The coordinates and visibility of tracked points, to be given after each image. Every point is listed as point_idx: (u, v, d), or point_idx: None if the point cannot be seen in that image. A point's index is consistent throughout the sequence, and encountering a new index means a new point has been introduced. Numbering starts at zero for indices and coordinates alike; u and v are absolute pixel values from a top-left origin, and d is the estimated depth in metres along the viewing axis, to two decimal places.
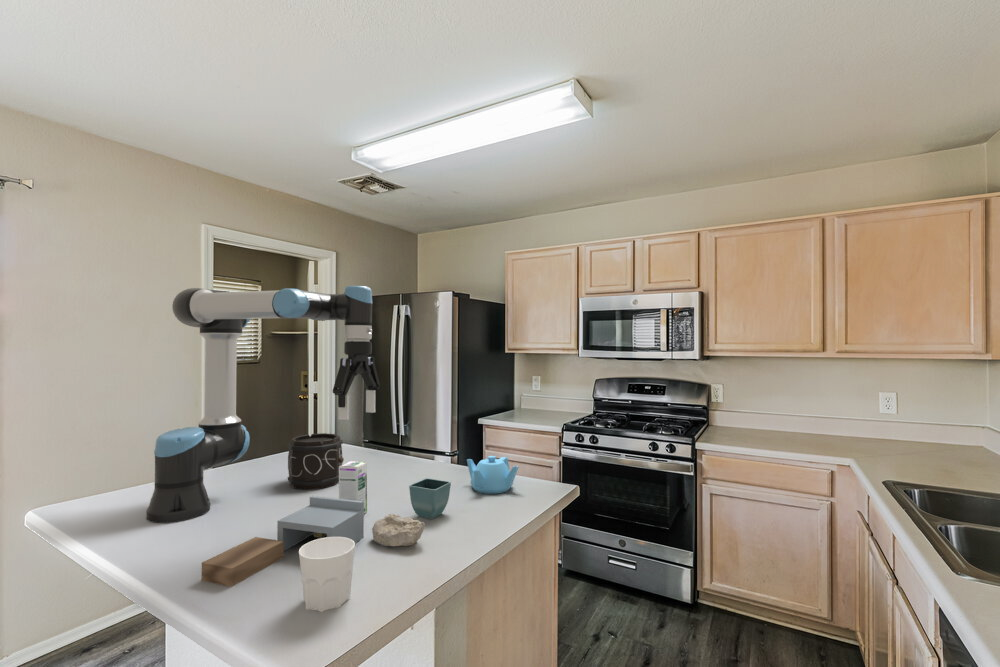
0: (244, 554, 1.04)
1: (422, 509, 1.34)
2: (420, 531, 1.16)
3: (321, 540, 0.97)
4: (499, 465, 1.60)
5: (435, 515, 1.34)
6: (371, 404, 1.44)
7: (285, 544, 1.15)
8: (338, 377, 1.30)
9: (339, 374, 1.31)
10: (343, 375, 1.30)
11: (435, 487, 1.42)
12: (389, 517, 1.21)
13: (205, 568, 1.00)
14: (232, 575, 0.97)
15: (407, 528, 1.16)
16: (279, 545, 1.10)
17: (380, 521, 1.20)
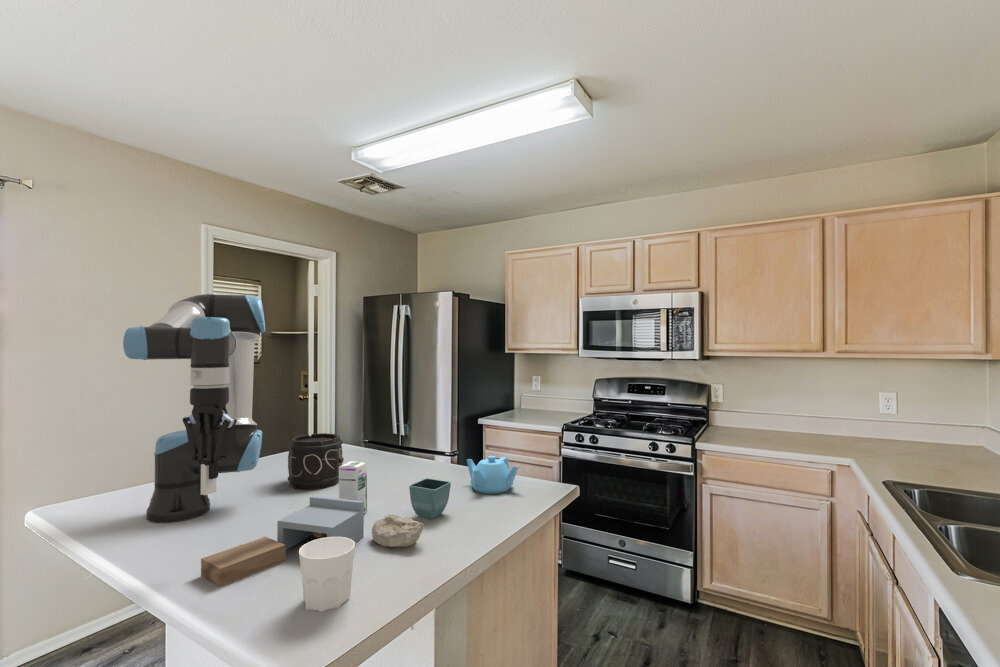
0: (241, 554, 1.04)
1: (422, 509, 1.34)
2: (419, 532, 1.15)
3: (321, 540, 0.97)
4: (499, 465, 1.60)
5: (435, 515, 1.34)
6: None
7: (285, 544, 1.15)
8: None
9: None
10: None
11: (435, 487, 1.42)
12: (388, 517, 1.21)
13: (203, 564, 1.01)
14: (220, 575, 0.97)
15: (406, 529, 1.15)
16: (280, 548, 1.08)
17: (380, 521, 1.20)
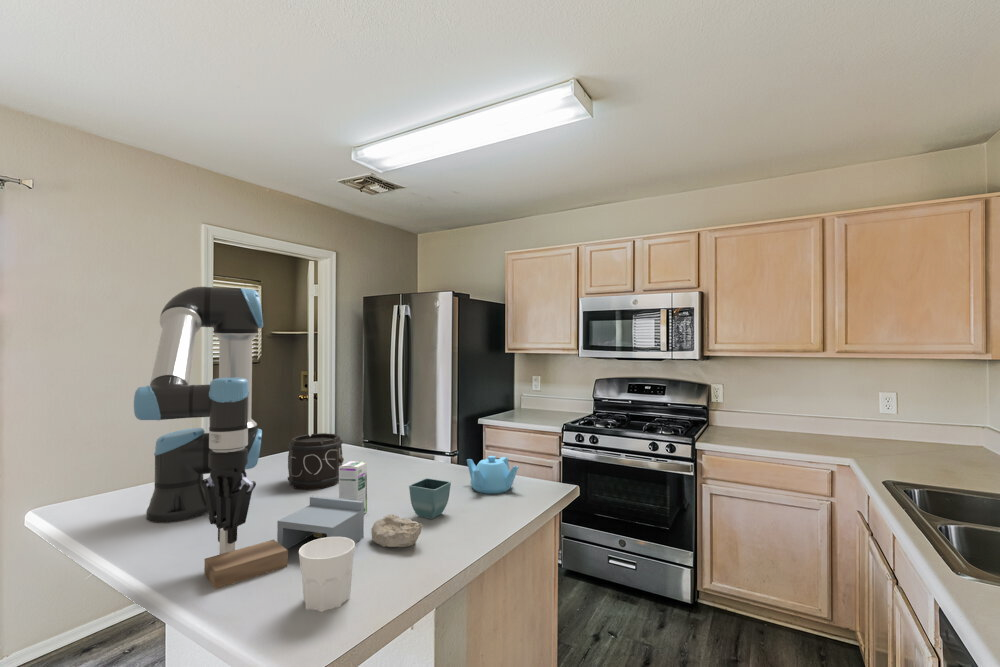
0: (242, 557, 1.03)
1: (422, 509, 1.34)
2: (417, 532, 1.15)
3: (321, 540, 0.97)
4: (499, 465, 1.60)
5: (435, 515, 1.34)
6: None
7: (285, 544, 1.15)
8: None
9: None
10: None
11: (435, 487, 1.42)
12: (388, 517, 1.20)
13: (205, 565, 1.01)
14: (215, 578, 0.96)
15: (404, 529, 1.15)
16: (281, 553, 1.05)
17: (379, 521, 1.20)
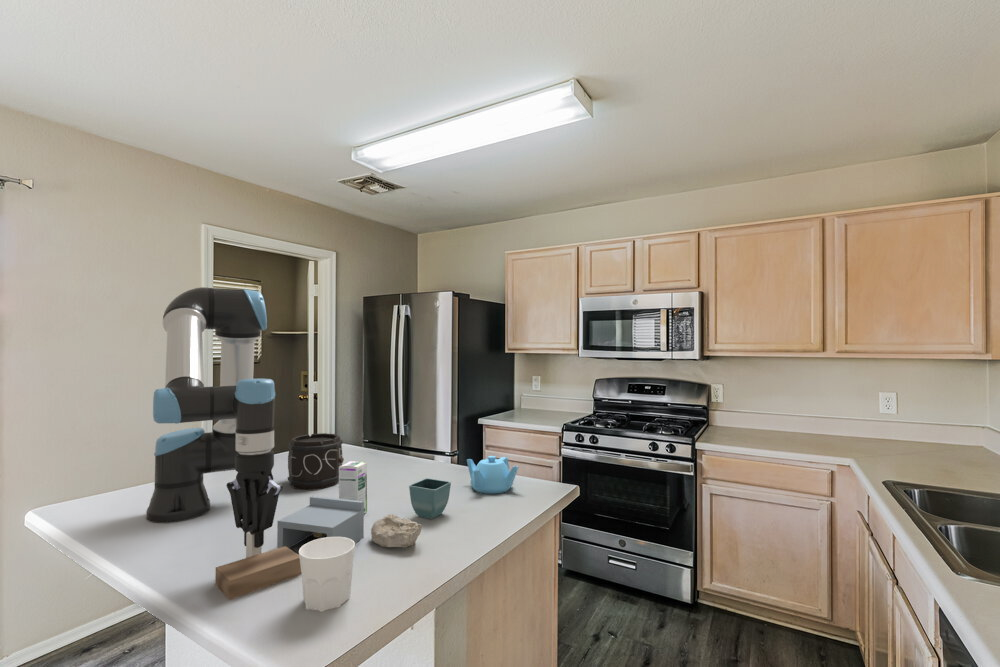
0: (255, 565, 0.99)
1: (422, 509, 1.34)
2: (416, 533, 1.15)
3: (321, 540, 0.97)
4: (499, 465, 1.60)
5: (435, 515, 1.34)
6: None
7: (285, 544, 1.15)
8: None
9: None
10: None
11: (435, 487, 1.42)
12: (388, 518, 1.20)
13: (217, 574, 0.97)
14: (230, 587, 0.93)
15: (403, 529, 1.15)
16: (296, 560, 1.02)
17: (379, 521, 1.20)
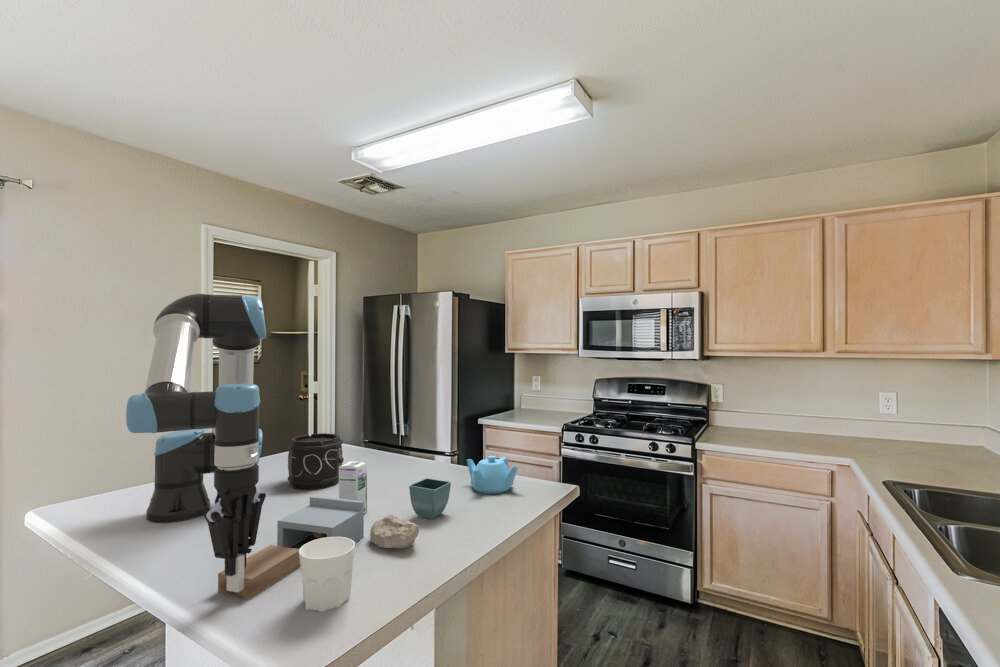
0: (261, 563, 0.99)
1: (422, 509, 1.34)
2: (414, 534, 1.14)
3: (321, 540, 0.97)
4: (499, 465, 1.60)
5: (435, 515, 1.34)
6: None
7: (285, 544, 1.15)
8: (213, 539, 0.89)
9: (213, 535, 0.89)
10: (219, 536, 0.89)
11: (435, 487, 1.42)
12: (387, 518, 1.20)
13: (222, 579, 0.95)
14: (251, 586, 0.93)
15: (401, 530, 1.14)
16: (297, 553, 1.05)
17: (378, 521, 1.20)
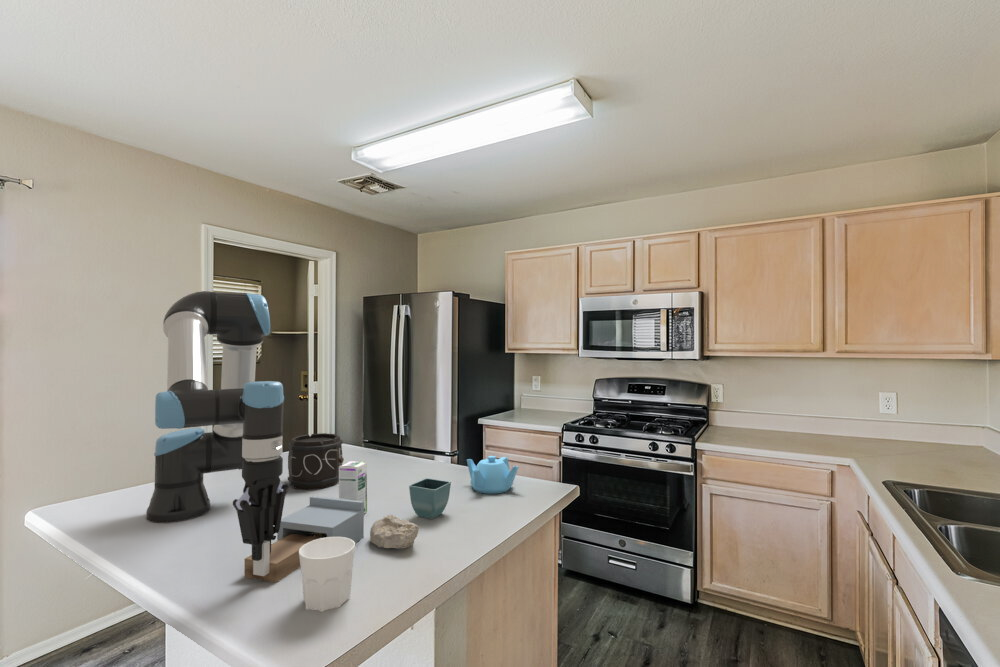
0: (284, 550, 1.06)
1: (422, 509, 1.34)
2: (413, 534, 1.14)
3: (321, 540, 0.97)
4: (499, 465, 1.60)
5: (435, 515, 1.34)
6: None
7: None
8: (242, 525, 0.95)
9: (242, 522, 0.95)
10: (247, 523, 0.95)
11: (435, 487, 1.42)
12: (387, 518, 1.20)
13: (248, 564, 1.01)
14: (276, 570, 0.99)
15: (400, 530, 1.14)
16: None
17: (378, 522, 1.20)
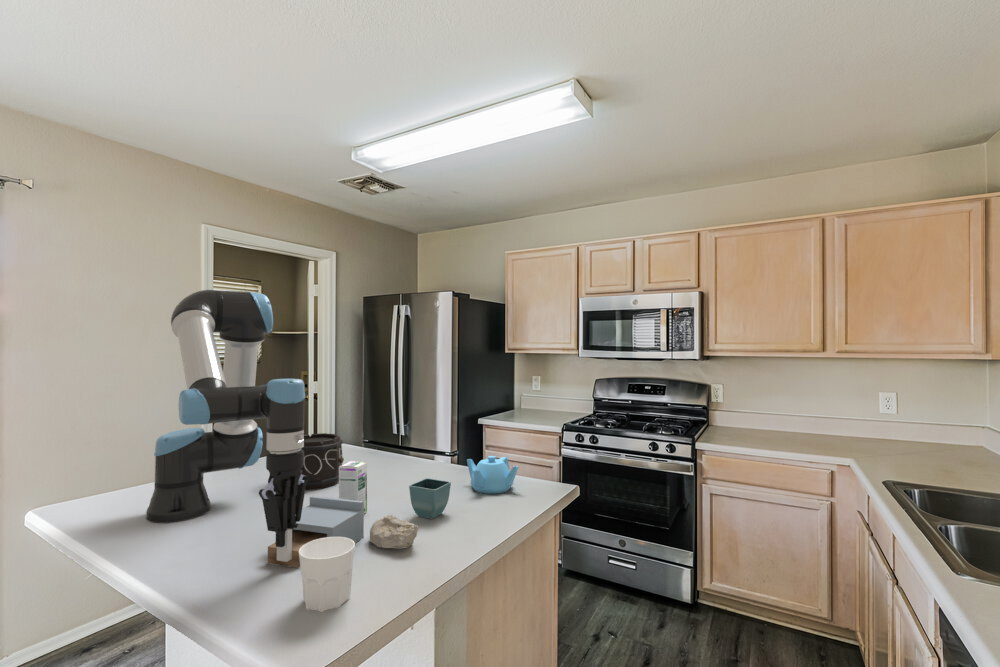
0: (304, 539, 1.12)
1: (422, 509, 1.34)
2: (412, 535, 1.14)
3: (321, 540, 0.97)
4: (499, 465, 1.60)
5: (435, 515, 1.34)
6: None
7: None
8: (267, 514, 1.02)
9: (267, 510, 1.02)
10: (272, 512, 1.01)
11: (435, 487, 1.42)
12: (386, 518, 1.20)
13: (271, 551, 1.07)
14: (298, 557, 1.06)
15: (399, 531, 1.14)
16: None
17: (378, 522, 1.20)
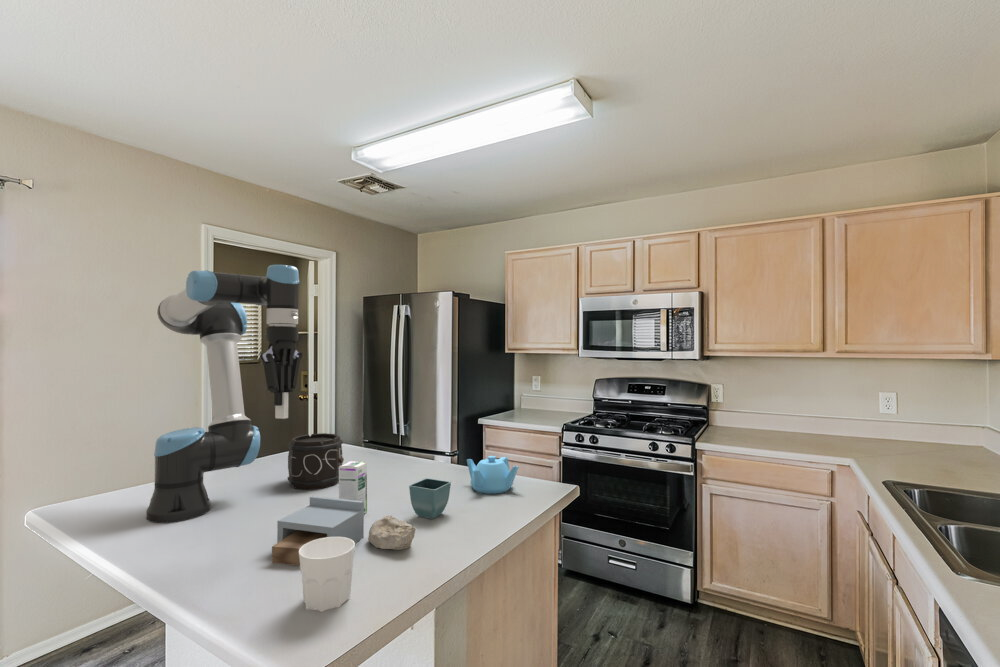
0: (307, 537, 1.13)
1: (422, 509, 1.34)
2: (409, 536, 1.13)
3: (321, 540, 0.97)
4: (499, 465, 1.60)
5: (435, 515, 1.34)
6: None
7: None
8: (267, 375, 1.21)
9: (267, 372, 1.21)
10: (271, 372, 1.20)
11: (435, 487, 1.42)
12: (386, 518, 1.20)
13: (276, 551, 1.08)
14: None
15: (397, 531, 1.14)
16: None
17: (377, 522, 1.20)
